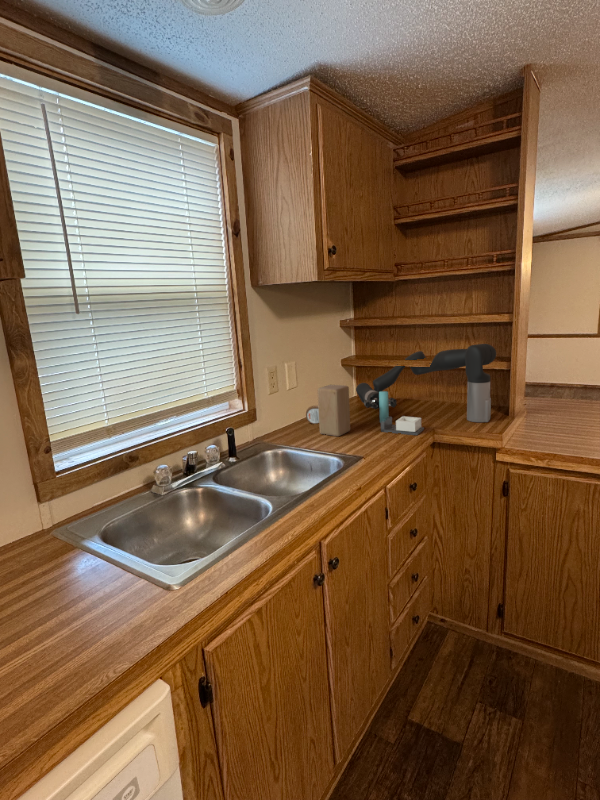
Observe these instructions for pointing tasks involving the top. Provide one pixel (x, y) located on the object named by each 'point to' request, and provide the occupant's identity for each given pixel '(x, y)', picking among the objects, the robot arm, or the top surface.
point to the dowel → (383, 405)
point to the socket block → (408, 424)
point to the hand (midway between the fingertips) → (385, 405)
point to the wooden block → (334, 410)
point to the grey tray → (388, 427)
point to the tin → (313, 414)
